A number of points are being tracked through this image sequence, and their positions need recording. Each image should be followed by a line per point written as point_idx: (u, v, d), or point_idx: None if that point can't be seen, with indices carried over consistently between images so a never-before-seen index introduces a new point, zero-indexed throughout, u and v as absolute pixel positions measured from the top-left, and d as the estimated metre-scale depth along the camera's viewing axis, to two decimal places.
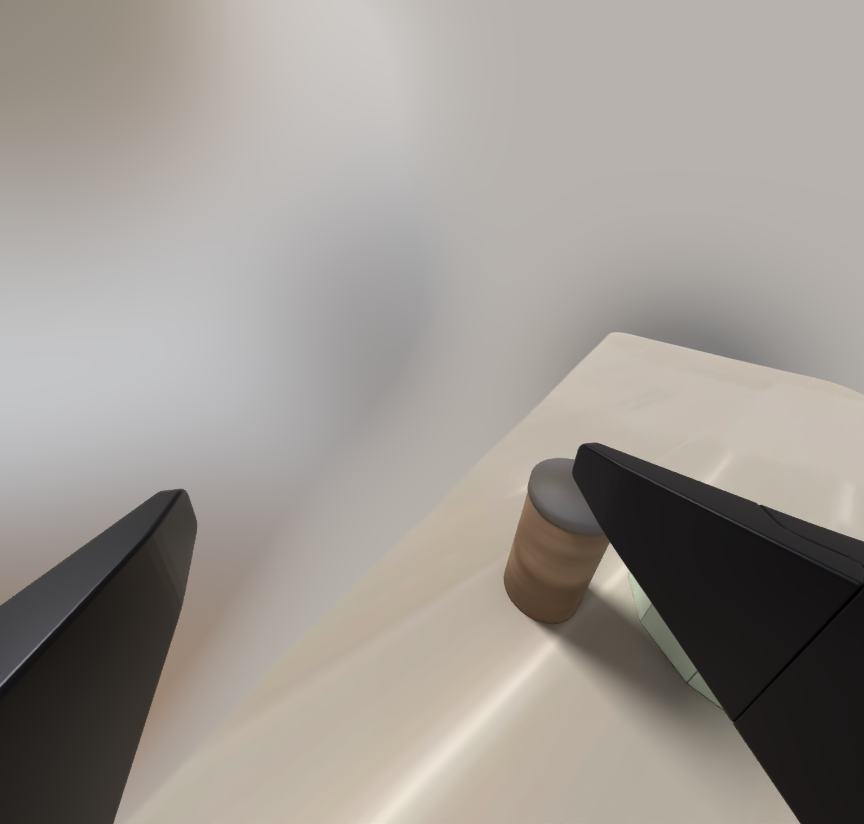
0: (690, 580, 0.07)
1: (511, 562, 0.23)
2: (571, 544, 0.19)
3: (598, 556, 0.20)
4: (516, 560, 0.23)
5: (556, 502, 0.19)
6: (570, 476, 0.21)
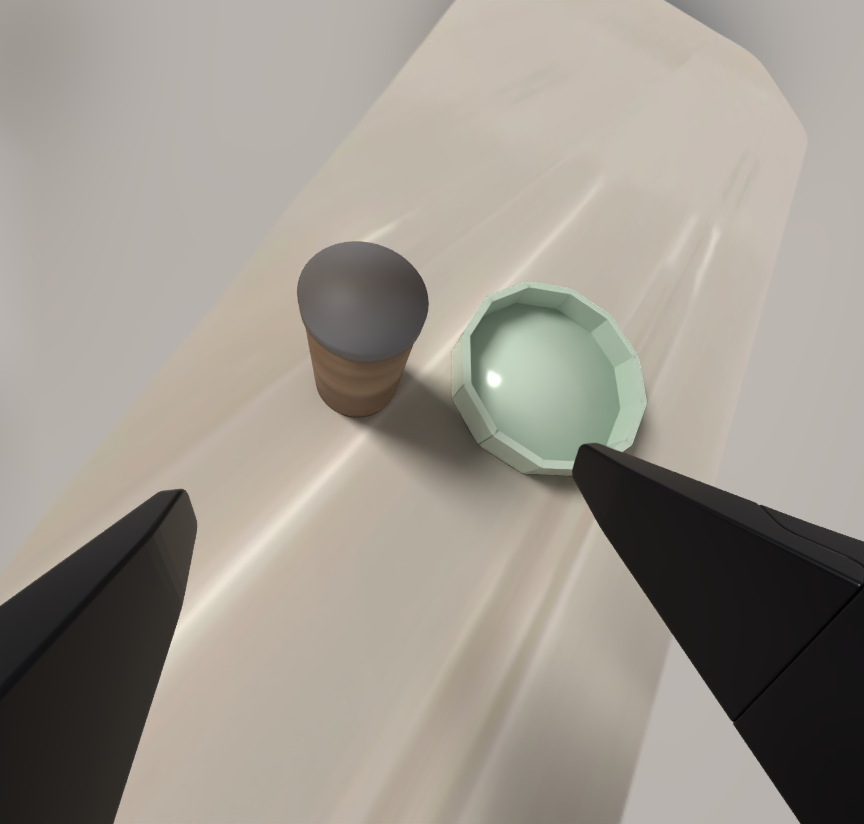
0: (690, 580, 0.07)
1: (313, 369, 0.20)
2: (356, 369, 0.16)
3: (395, 370, 0.17)
4: (314, 371, 0.19)
5: (329, 325, 0.14)
6: (358, 274, 0.15)
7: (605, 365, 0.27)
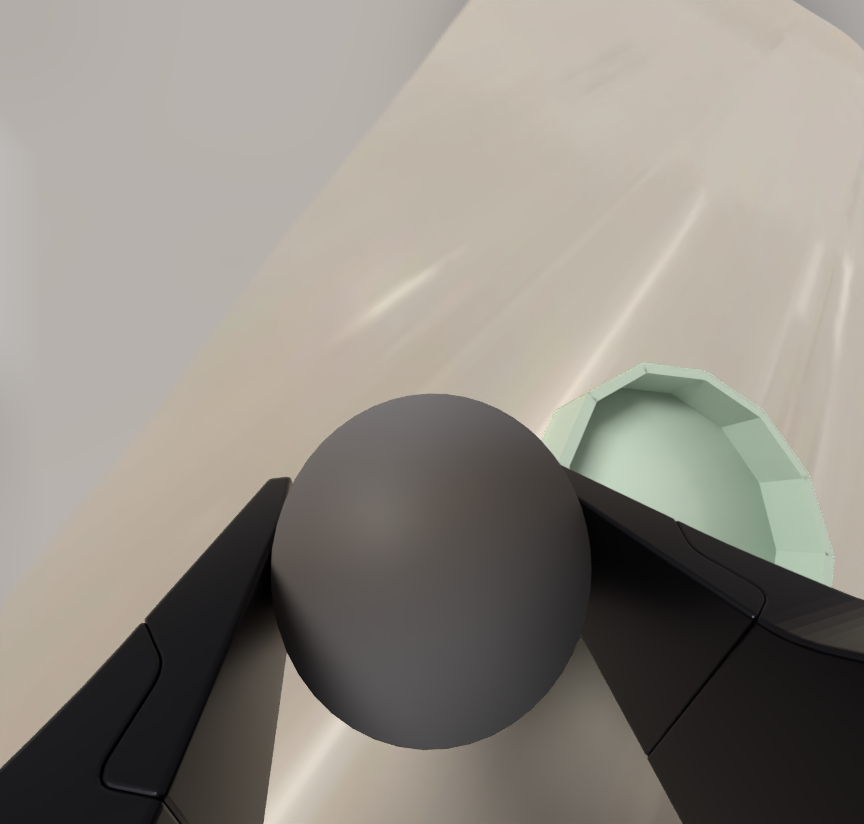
0: (605, 601, 0.06)
1: None
2: None
3: None
4: None
5: (359, 667, 0.05)
6: (427, 488, 0.06)
7: (746, 479, 0.18)
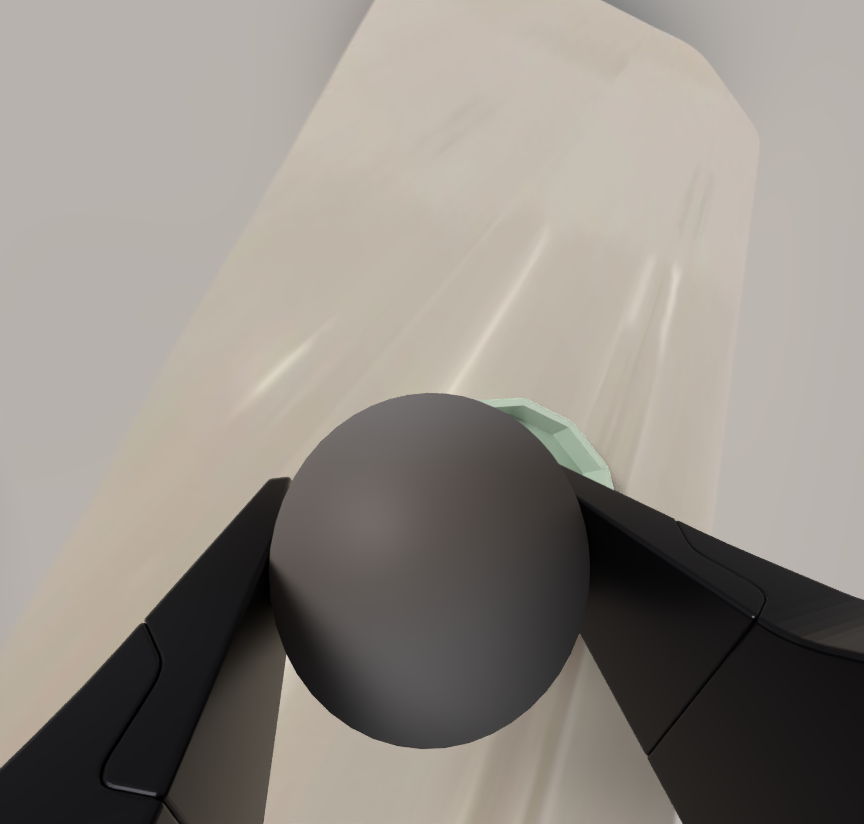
0: (605, 601, 0.06)
1: None
2: None
3: None
4: None
5: (357, 666, 0.05)
6: (425, 487, 0.06)
7: None
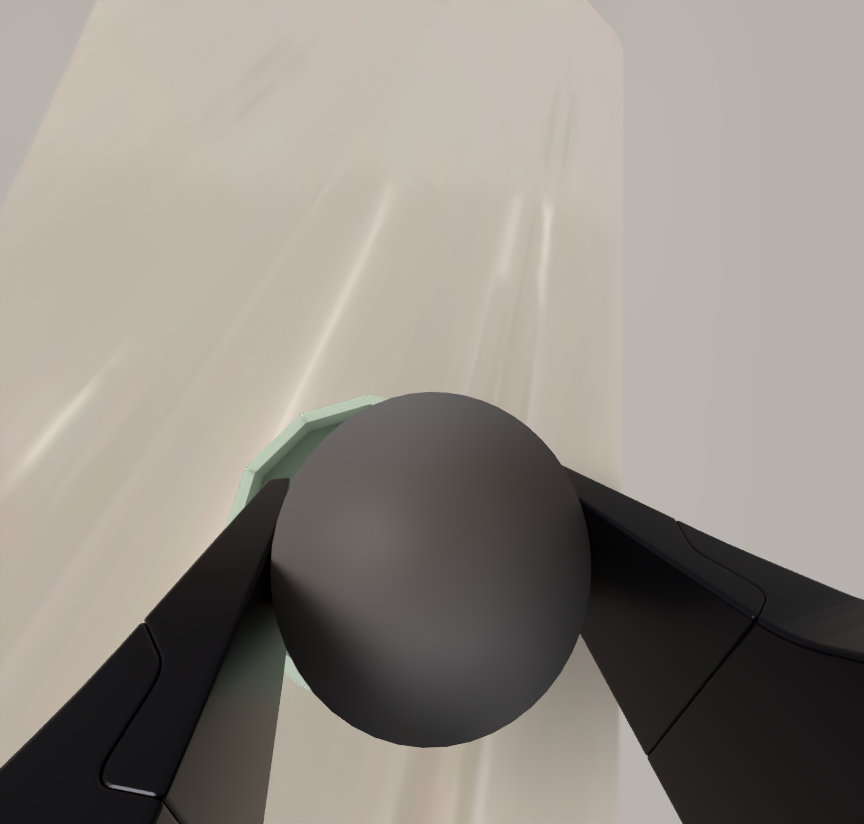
0: (606, 601, 0.06)
1: None
2: None
3: None
4: None
5: (359, 665, 0.05)
6: (426, 487, 0.06)
7: None
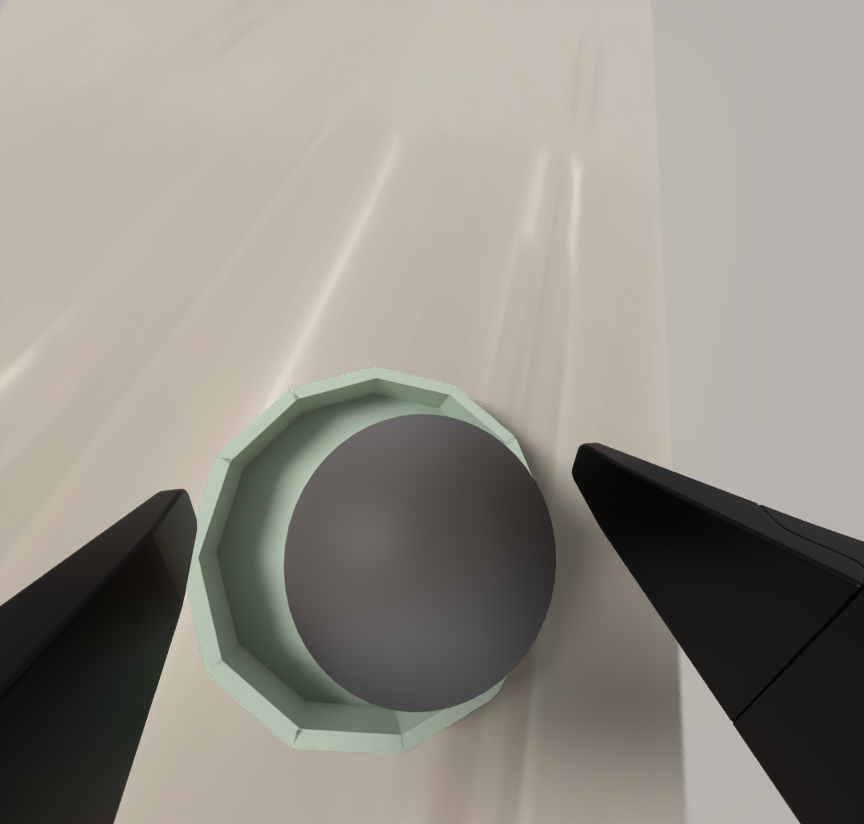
0: (690, 580, 0.07)
1: None
2: None
3: None
4: None
5: (357, 645, 0.06)
6: (414, 496, 0.07)
7: None
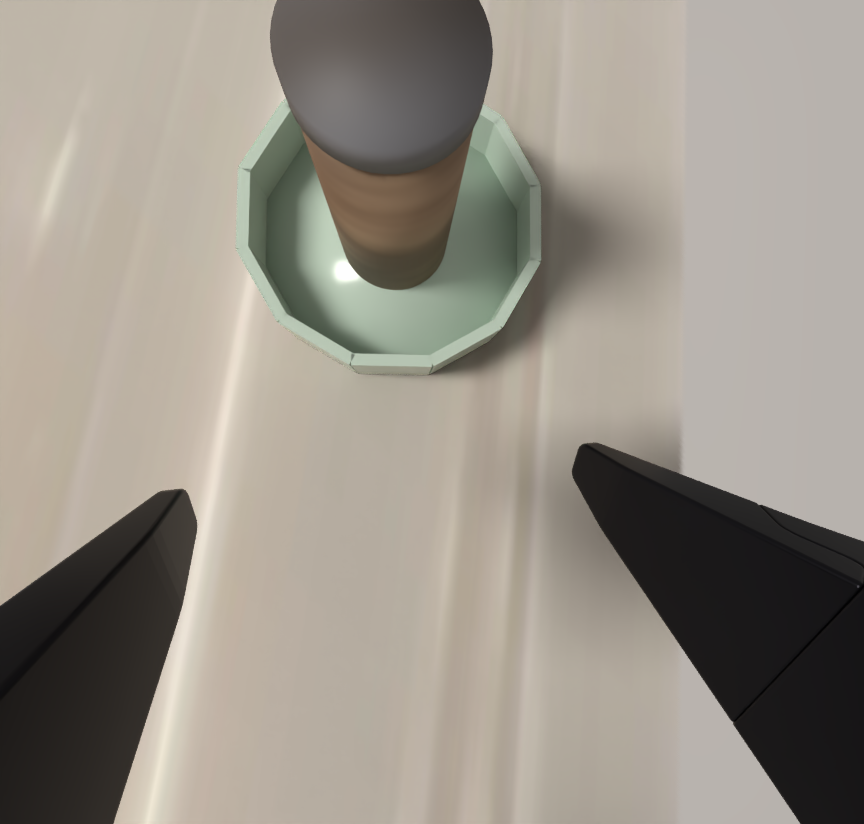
0: (690, 580, 0.07)
1: (336, 229, 0.15)
2: (395, 194, 0.10)
3: (449, 192, 0.12)
4: (338, 229, 0.14)
5: (338, 110, 0.08)
6: (365, 6, 0.09)
7: (470, 159, 0.18)
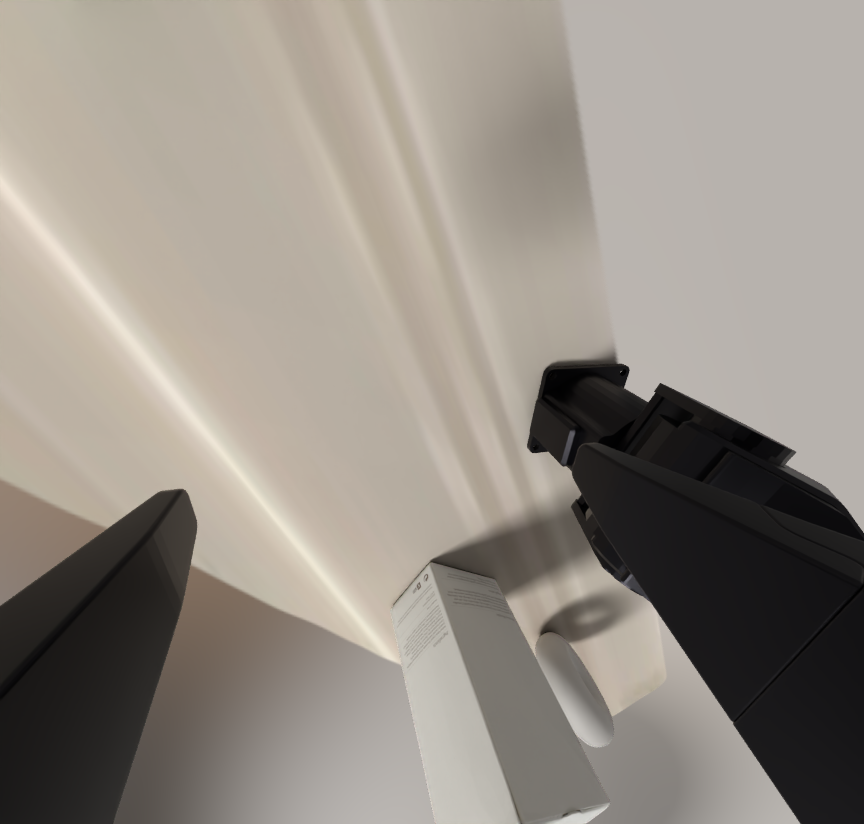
0: (690, 580, 0.07)
1: None
2: None
3: None
4: None
5: None
6: None
7: None
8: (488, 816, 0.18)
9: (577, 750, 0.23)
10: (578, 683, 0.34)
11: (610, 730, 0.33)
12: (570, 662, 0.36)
